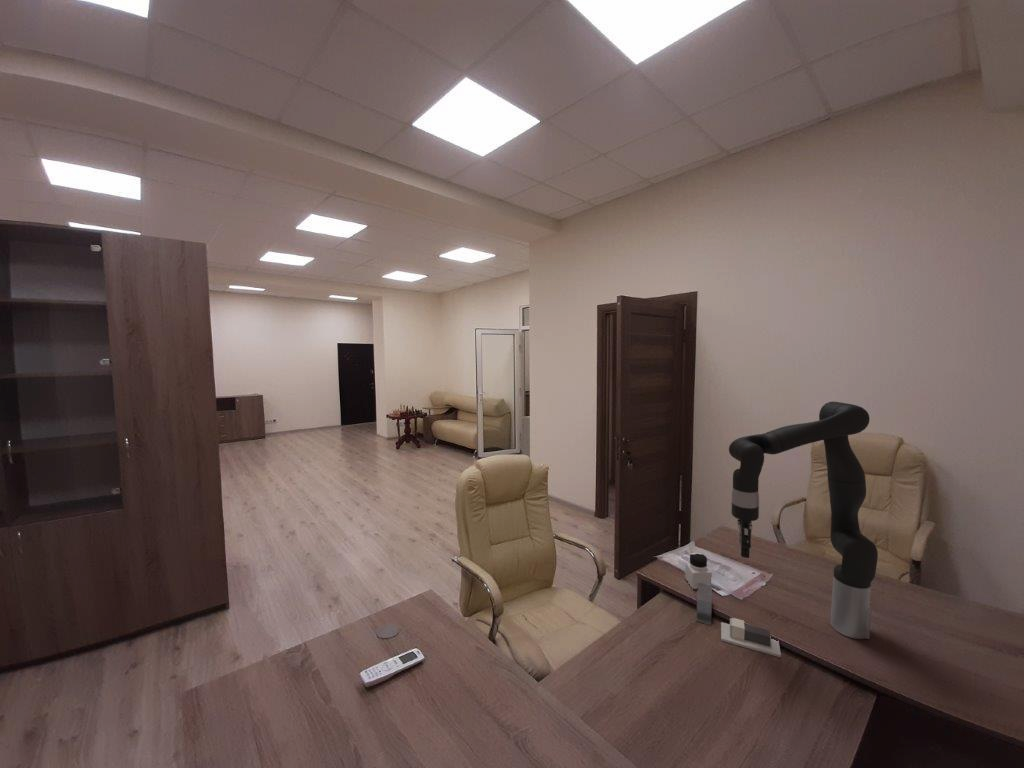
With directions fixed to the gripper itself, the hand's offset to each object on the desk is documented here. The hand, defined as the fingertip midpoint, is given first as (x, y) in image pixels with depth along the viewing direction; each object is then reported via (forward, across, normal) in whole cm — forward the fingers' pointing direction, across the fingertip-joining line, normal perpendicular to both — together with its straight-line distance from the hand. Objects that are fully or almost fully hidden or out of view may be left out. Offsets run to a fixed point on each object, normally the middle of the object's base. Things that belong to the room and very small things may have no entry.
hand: (744, 550), depth 128 cm
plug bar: (+27, -4, -2) cm, 28 cm away
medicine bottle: (+28, +21, +14) cm, 38 cm away
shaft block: (+28, +6, +12) cm, 31 cm away
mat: (+28, -4, -2) cm, 28 cm away
